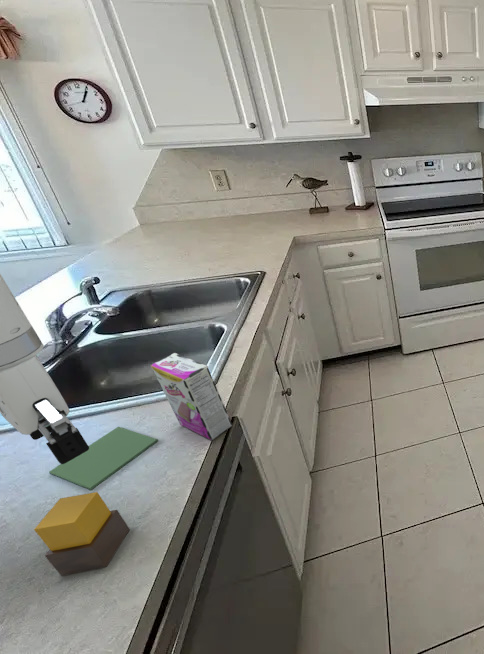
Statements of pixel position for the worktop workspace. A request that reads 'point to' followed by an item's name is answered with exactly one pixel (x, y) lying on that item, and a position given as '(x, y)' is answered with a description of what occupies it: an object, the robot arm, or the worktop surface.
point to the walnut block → (91, 548)
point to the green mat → (104, 457)
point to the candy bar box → (192, 395)
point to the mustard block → (73, 521)
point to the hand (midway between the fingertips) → (61, 444)
